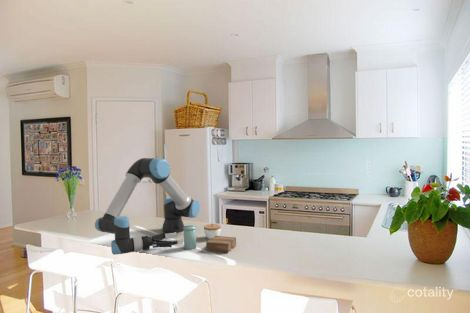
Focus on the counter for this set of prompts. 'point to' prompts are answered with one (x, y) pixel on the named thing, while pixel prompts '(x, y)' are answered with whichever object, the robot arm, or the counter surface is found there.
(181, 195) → the robot arm
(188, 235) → the canister
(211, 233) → the lidded jar
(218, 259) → the counter surface
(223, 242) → the slab
